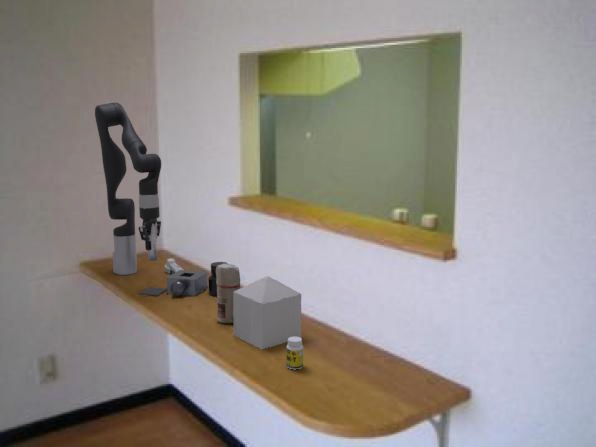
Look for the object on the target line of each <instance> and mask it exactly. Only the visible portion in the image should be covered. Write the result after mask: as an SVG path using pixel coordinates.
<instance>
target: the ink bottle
mask: <svg viewBox="0 0 596 447" xmlns="http://www.w3.org/2000/svg"><path fill="white" fill-rule="evenodd" d="M221 264H229V263H228V262H226V261H214V262H212V263H210V274H211V275H210V276H208V278H207V282H208V294H209V295H210V296H214V297H217V284H216V281H217V276H216V267H217V266H218V265H221Z"/></svg>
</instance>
